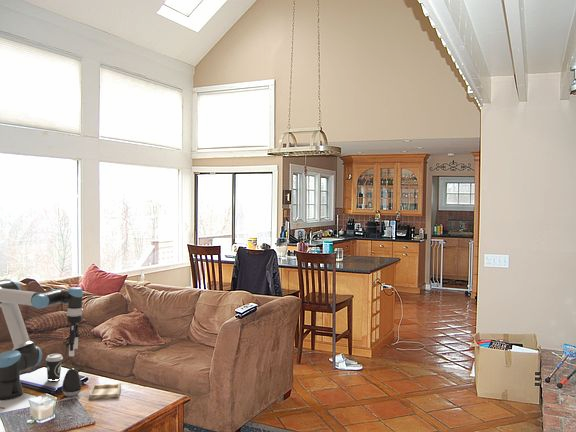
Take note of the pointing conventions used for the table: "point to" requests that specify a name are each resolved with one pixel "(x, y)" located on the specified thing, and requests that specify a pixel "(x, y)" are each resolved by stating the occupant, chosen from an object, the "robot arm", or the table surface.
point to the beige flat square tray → (105, 391)
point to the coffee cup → (54, 366)
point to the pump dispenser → (71, 383)
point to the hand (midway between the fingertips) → (73, 352)
